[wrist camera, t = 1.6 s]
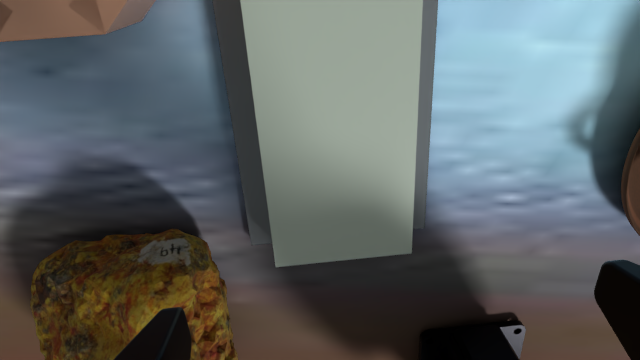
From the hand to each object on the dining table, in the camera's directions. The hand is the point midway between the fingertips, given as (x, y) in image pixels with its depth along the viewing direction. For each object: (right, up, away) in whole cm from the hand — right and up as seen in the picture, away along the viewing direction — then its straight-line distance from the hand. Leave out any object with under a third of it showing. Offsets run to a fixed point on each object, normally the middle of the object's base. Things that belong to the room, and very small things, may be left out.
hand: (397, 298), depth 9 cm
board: (-1, +5, +10) cm, 11 cm away
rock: (-10, -5, +15) cm, 19 cm away
